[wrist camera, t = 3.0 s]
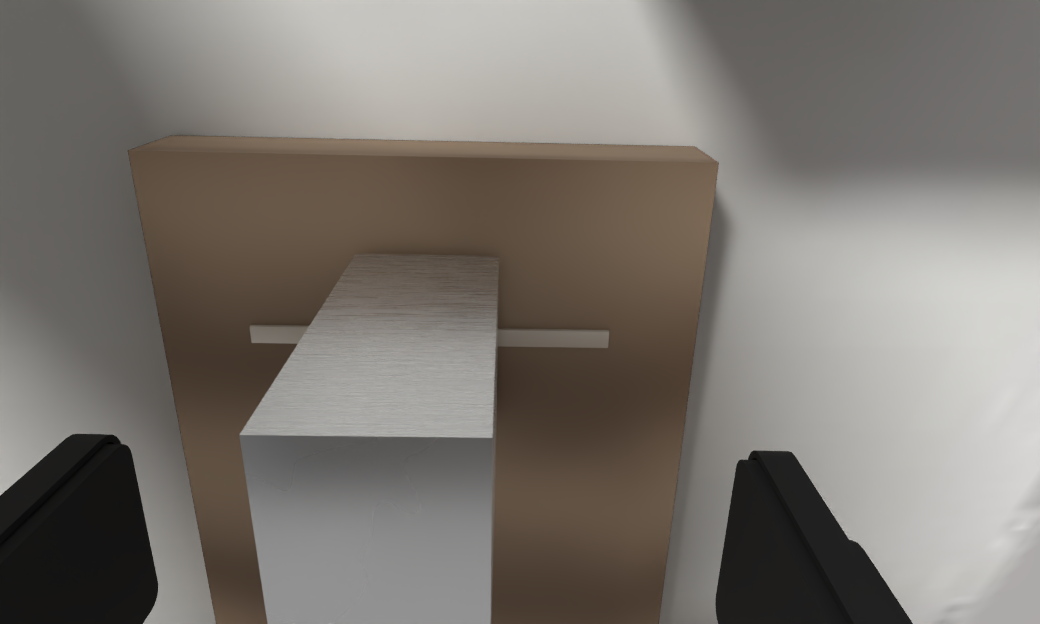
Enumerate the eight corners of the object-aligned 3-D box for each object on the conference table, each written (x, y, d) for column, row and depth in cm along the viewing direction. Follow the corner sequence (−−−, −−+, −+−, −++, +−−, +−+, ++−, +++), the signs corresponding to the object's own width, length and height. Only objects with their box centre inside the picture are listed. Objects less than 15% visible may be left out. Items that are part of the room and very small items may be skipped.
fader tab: (355, 253, 15) (239, 435, 8) (498, 256, 15) (492, 437, 8) (367, 418, 16) (275, 680, 10) (496, 420, 16) (489, 679, 10)
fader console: (171, 135, 16) (125, 151, 14) (695, 146, 16) (720, 163, 14) (276, 781, 25) (256, 847, 23) (620, 781, 25) (630, 845, 23)
